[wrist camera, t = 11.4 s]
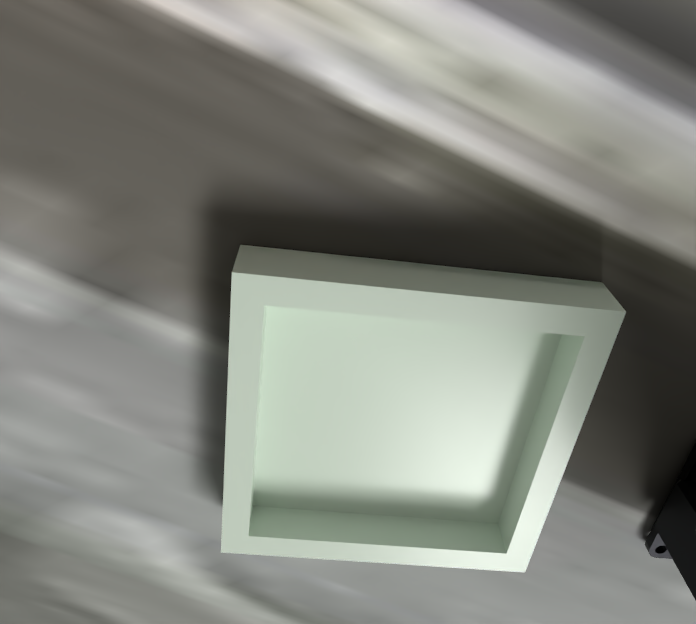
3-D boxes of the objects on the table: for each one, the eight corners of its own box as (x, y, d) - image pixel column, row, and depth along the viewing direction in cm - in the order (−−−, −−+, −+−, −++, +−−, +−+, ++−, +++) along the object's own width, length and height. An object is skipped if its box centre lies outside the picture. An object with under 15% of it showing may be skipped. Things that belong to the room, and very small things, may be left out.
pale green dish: (602, 282, 21) (626, 311, 20) (512, 532, 27) (524, 572, 25) (240, 244, 20) (231, 272, 19) (228, 512, 26) (221, 552, 24)
